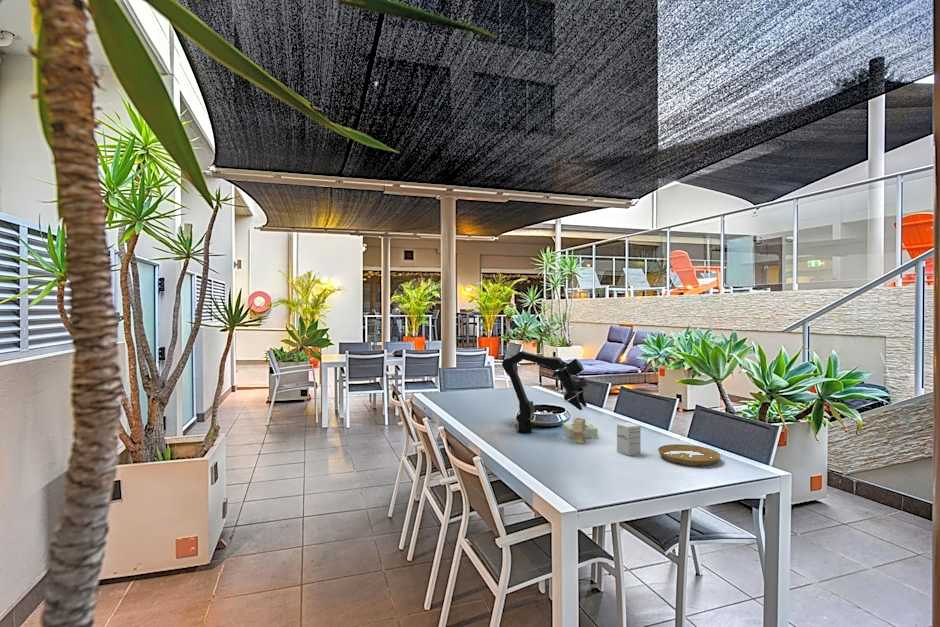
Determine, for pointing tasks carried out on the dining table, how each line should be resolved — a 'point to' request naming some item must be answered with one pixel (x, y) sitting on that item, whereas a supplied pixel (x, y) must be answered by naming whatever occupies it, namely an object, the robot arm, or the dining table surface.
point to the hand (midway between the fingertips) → (583, 408)
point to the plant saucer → (685, 458)
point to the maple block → (579, 430)
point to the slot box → (589, 430)
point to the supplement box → (628, 438)
